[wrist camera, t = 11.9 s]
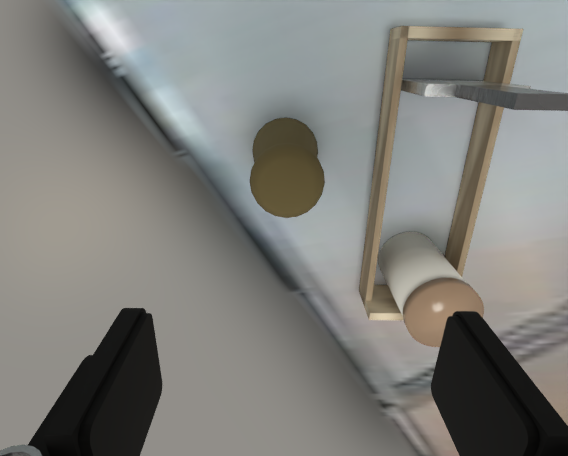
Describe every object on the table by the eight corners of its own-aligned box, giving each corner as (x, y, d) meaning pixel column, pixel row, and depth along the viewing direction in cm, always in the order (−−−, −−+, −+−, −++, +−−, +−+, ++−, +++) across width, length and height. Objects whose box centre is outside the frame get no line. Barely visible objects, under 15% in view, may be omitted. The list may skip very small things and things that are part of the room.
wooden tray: (501, 31, 31) (540, 26, 26) (442, 291, 41) (462, 320, 37) (390, 29, 31) (409, 23, 26) (359, 290, 41) (369, 319, 37)
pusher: (480, 80, 32) (616, 95, 19) (478, 90, 33) (610, 111, 20) (397, 78, 32) (477, 92, 19) (395, 88, 32) (473, 108, 19)
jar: (441, 231, 38) (492, 284, 29) (430, 283, 41) (474, 347, 32) (381, 230, 38) (412, 283, 29) (373, 282, 41) (401, 346, 32)
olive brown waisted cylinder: (294, 103, 33) (300, 123, 23) (330, 159, 35) (350, 199, 25) (239, 142, 34) (222, 177, 24) (277, 194, 37) (276, 245, 26)
